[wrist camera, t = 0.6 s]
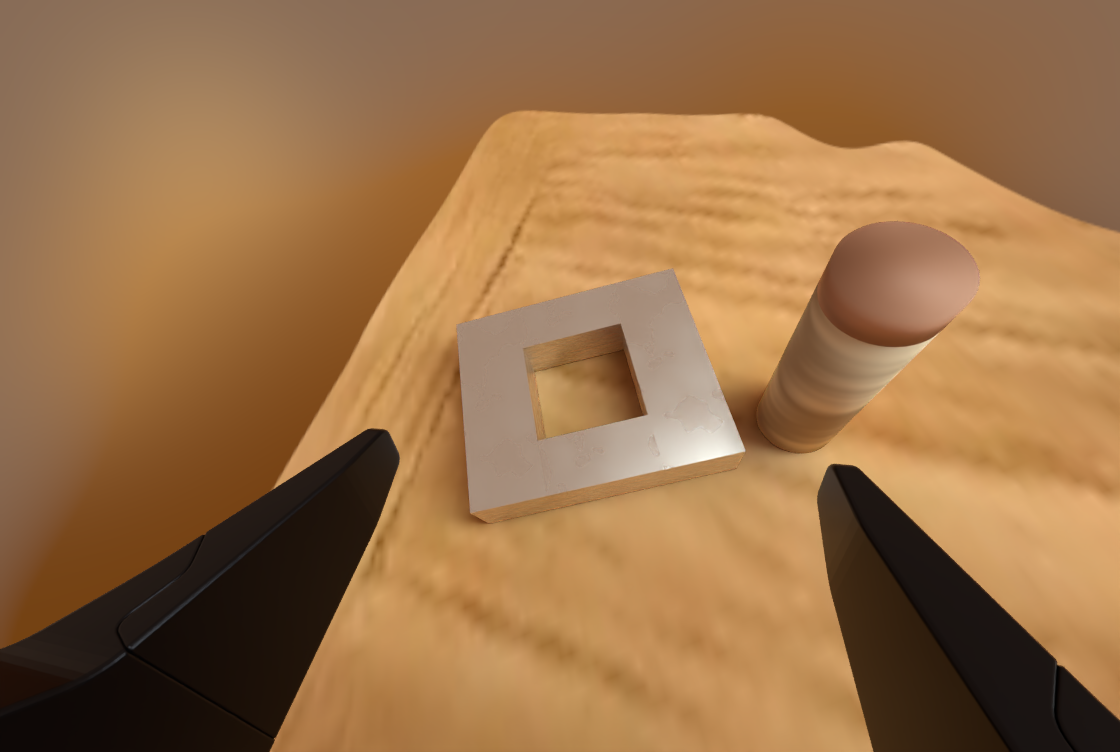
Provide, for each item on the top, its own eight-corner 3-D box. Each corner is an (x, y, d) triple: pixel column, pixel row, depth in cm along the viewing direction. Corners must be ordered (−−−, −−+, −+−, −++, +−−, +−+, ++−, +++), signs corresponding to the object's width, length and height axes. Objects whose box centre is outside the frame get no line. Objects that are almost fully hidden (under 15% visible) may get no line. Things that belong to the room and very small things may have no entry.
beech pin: (848, 443, 24) (1011, 301, 13) (773, 460, 24) (870, 334, 13) (814, 379, 26) (931, 208, 15) (745, 395, 26) (810, 239, 15)
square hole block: (735, 468, 24) (745, 451, 22) (489, 523, 25) (470, 513, 23) (671, 298, 30) (672, 268, 28) (472, 348, 31) (456, 324, 29)
